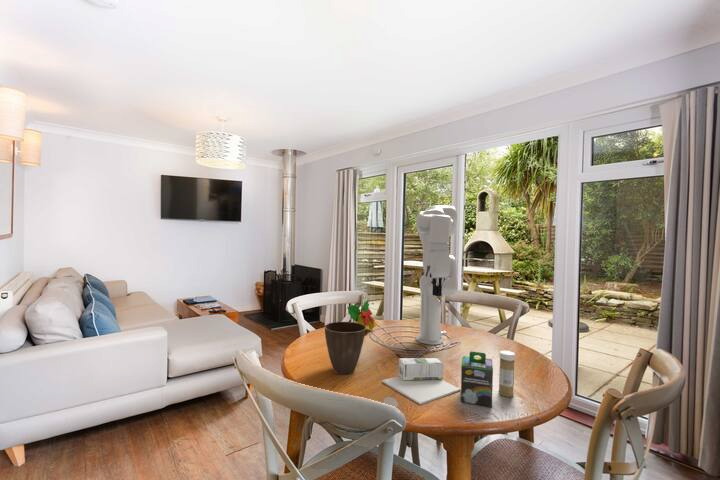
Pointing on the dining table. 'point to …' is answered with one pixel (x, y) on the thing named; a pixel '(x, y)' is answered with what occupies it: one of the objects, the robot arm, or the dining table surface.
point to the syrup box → (420, 368)
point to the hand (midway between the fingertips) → (436, 295)
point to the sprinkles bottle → (506, 373)
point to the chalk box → (477, 379)
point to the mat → (421, 388)
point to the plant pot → (344, 345)
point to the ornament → (362, 316)
